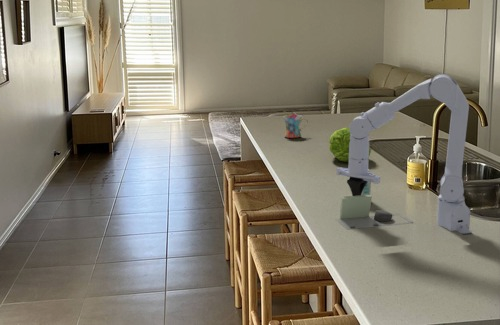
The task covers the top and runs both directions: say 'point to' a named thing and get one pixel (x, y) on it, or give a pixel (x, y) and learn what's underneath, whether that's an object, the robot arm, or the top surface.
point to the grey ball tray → (365, 222)
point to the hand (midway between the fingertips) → (356, 202)
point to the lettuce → (341, 144)
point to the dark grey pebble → (382, 216)
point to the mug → (293, 125)
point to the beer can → (367, 187)
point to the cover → (355, 206)
